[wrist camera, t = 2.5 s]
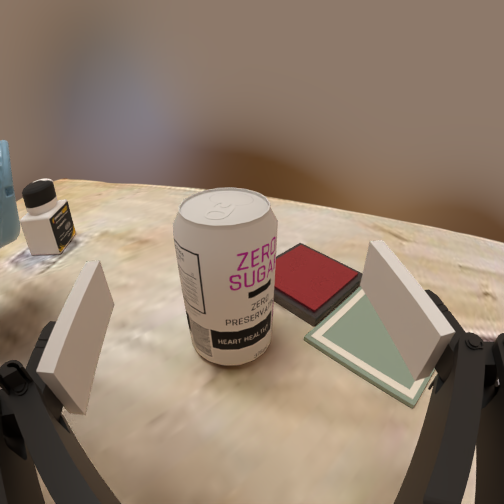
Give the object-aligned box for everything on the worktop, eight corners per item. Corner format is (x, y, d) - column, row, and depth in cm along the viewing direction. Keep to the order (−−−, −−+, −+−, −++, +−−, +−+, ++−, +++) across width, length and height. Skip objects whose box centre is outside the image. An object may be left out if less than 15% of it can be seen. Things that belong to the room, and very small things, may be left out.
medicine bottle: (61, 254, 45) (41, 188, 38) (30, 256, 44) (10, 194, 38) (76, 233, 51) (61, 172, 44) (47, 235, 50) (32, 178, 44)
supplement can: (210, 305, 36) (198, 181, 28) (279, 320, 34) (288, 191, 26) (179, 356, 29) (149, 221, 21) (258, 378, 27) (262, 238, 19)
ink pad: (245, 282, 39) (244, 272, 39) (299, 249, 46) (300, 241, 45) (313, 326, 33) (315, 316, 32) (362, 282, 39) (365, 272, 38)
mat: (303, 339, 31) (304, 335, 31) (366, 282, 39) (367, 278, 39) (412, 408, 23) (414, 405, 23) (453, 328, 31) (455, 325, 31)
